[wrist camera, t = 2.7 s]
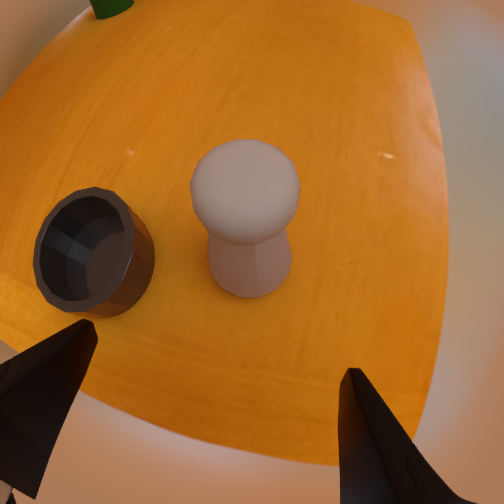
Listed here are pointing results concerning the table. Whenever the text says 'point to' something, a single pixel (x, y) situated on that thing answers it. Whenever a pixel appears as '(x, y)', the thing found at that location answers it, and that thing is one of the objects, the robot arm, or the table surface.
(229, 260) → the salt shaker
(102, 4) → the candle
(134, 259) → the holder
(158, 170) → the table surface
